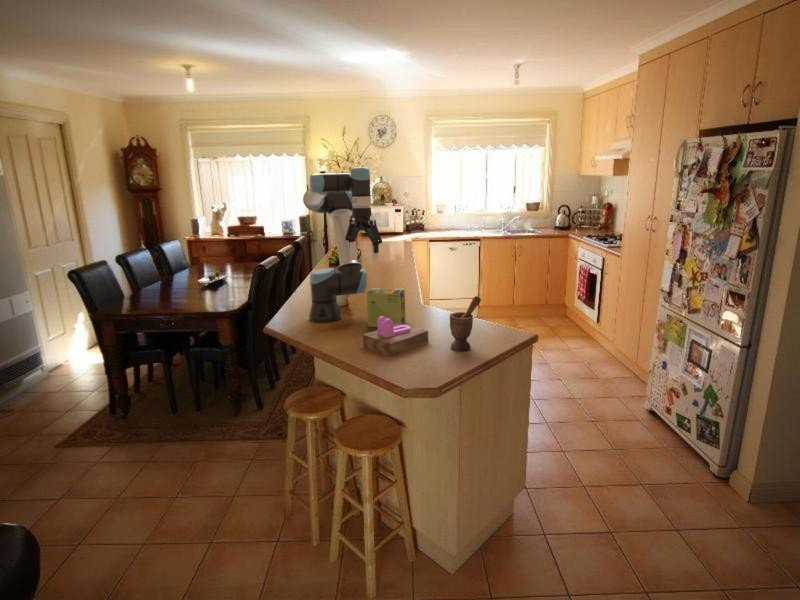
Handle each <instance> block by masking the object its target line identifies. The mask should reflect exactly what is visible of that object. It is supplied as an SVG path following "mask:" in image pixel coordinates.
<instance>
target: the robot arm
mask: <svg viewBox="0 0 800 600" xmlns="http://www.w3.org/2000/svg"><path fill="white" fill-rule="evenodd" d="M370 173H371V172H370V168H368V167H366V166H365V167H351V168H350V172H341V173H340V172H337V173H336V172H335V173H312V174H310V176H309V189H307V190H306V191H305V192H304V194H303V198H302V201H303V204H304V206H305V207H306V209H308V210H309V211H311V212H314V213H316V214H328V217H329V219H331V220H332V222H333V223H332V224H333V230H334V235H335V242H336V249H337V254H338V260H339V265H338V266H337V270H335V268H333V267H325V268H321V269H317V270H315V271H312V272H311V273H310V275H309V285H310V296H311V297H310V298H311V307H310V310H309V314H308V319H310V320H309V321H310V322H312V321H313V322H312V323H317V322H319V323H321V324H324V323H325V324H326V323H333V322H337V321H339V320H341V319H342V311H341V309H340V307H339V304H338V300H337V296H348V295H357V294H363V293H365V291H366V289H367V287H368V271H367V269H366V268H363V266H362V263H360V262H359V261H358V256H357V242H356V239H357V237H358V235H359V234H360V231H363V232H364V233H366V235H367V237H368V238H369V240H370V242H371V245H370V246H371V261H372V262H378V261H379V252H380V251H379V245H380V244H383V240H382V238H381V235H380V232H379V229H378V226H377V220H376V219H371V217H372V208H371V206H372V198H371V175H370ZM351 217H353V218H351Z"/></svg>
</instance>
